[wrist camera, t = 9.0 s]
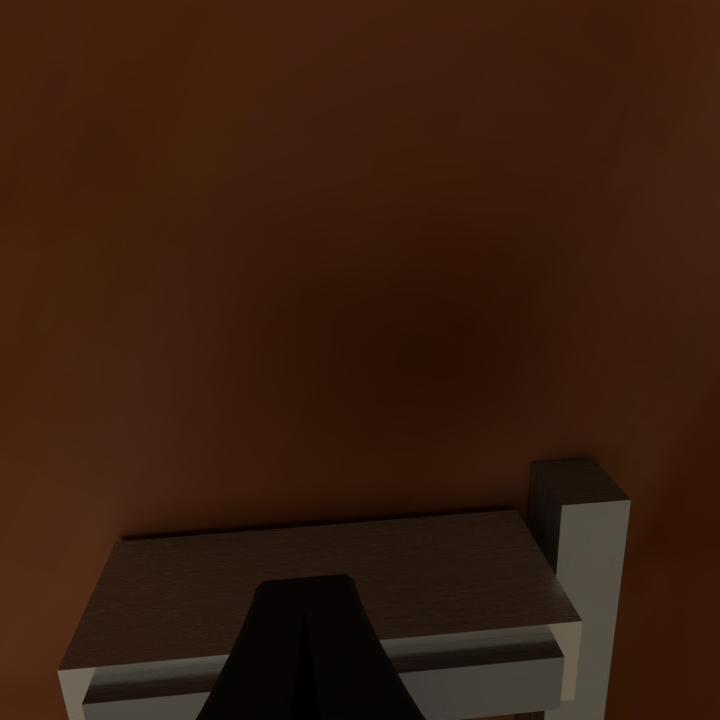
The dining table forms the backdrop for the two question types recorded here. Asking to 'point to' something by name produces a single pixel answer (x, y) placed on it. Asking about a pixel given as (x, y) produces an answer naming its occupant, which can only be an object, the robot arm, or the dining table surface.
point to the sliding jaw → (378, 596)
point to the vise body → (582, 566)
